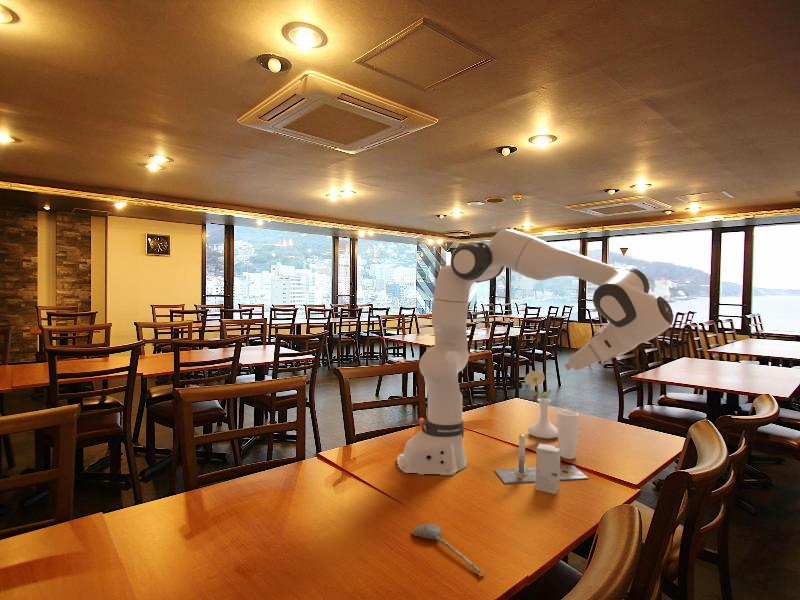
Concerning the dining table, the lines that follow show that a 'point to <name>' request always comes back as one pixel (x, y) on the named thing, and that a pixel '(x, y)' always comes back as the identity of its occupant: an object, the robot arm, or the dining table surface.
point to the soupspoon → (435, 533)
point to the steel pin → (521, 456)
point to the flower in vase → (542, 425)
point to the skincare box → (547, 468)
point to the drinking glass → (568, 432)
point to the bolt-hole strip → (511, 477)
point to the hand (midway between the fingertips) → (574, 361)
